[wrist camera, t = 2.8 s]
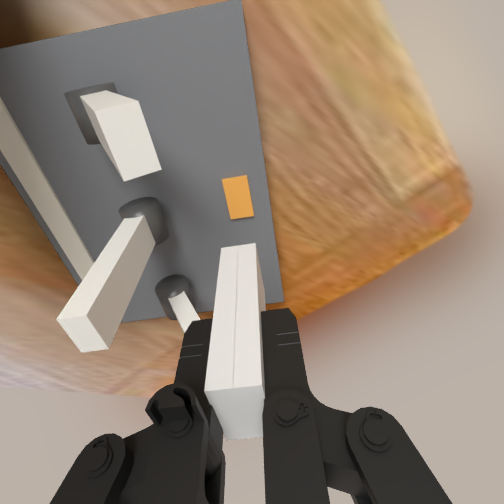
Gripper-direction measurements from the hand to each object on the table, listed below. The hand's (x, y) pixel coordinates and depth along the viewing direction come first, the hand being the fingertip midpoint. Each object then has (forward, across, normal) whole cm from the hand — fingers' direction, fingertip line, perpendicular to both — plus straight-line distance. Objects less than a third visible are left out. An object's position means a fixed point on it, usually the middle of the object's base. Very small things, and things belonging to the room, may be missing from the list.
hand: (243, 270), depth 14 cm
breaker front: (+7, -7, +6) cm, 12 cm away
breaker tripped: (+7, -6, 0) cm, 10 cm away
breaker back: (+7, -7, -7) cm, 12 cm away
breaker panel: (+11, -6, 0) cm, 13 cm away
